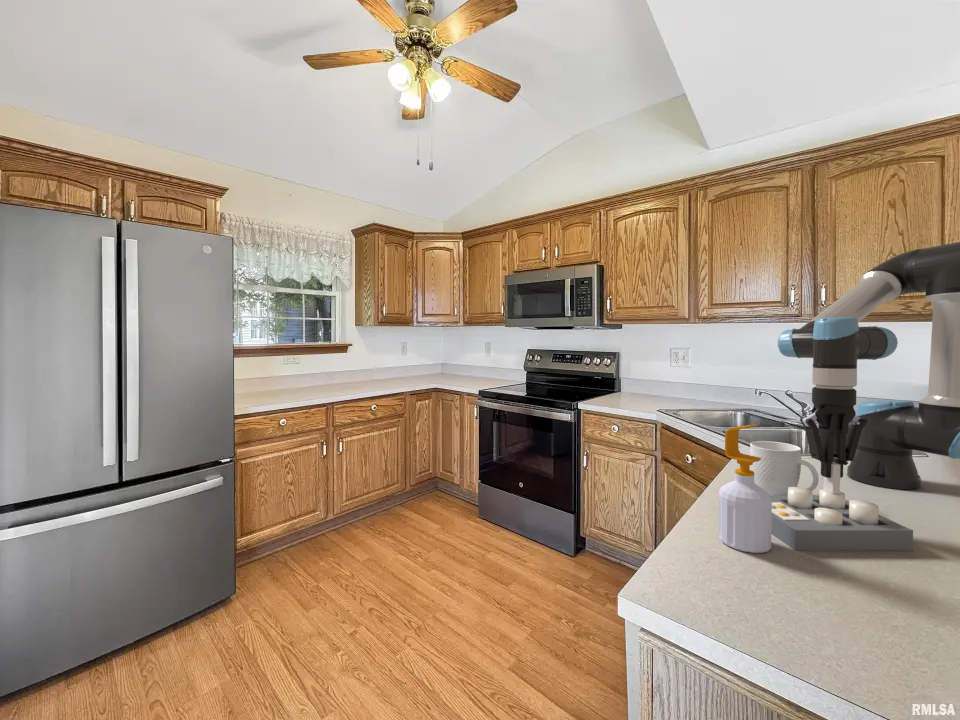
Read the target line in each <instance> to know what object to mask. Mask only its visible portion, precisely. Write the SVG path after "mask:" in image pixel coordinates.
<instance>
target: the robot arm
mask: <svg viewBox="0 0 960 720" xmlns="http://www.w3.org/2000/svg"><path fill="white" fill-rule="evenodd" d="M916 293H925V295H924V296H925V299H926V300H927V301H930V303H932V305H933V306H932V320H931V323H932V324H931V338H930V356H929V357H930V358H929V372H928V386H927V387H928V389H927V396H926V397H923V398H922V399H920V400H919V401H918V407H917V406H916V405H915V403H914V401H912V400H901V399H899V400H898V399H897V400H896V399H895V400H891V399H890V400H889V399H888V400H887V399H885V400H866V401H862V402H859V403H857V390H856V389H855V388H854V387H857V385H858V360H861V361H862V360H872V361H875V360H879V359H885V358H887V357H889V356H891V355H892V354H893V353H894V352H895V351H896V349H897V347H898V342H899V341H898V338H897V336H896V334H895V333H894V332H893V331H892V330H891V329H889V328H886V327H881V326H877V325H874V326H872V325H871V326H860V325H859V322H861V321H862V320H864V319H865V318H866V317H868V316H869V315H870V314H871V313H872V312H874V311H875V310H876V309H877V308H878V307H880V306H881V305H882V304H883V303H888V302H891V301H893V300H895V299H897V298H898V297H900V296H904V295H908V294H916ZM777 348H778V350H779V352H780V354H781V355H783V356H784V357H787V358H797V359H813V360H812V361H813V363H812V381H811V382H812V384H813V385H814V386H813V387H812V389H811V402H812V405H813V407H812V409H811V412H810V413H811V414H808V415H807V416H805V417H804V416H801V417H800V418H799V421H800V423H801V424H802V426H803V427H804V431H805V435H806V439H807V443H808V449H809V452H810V456H811V458H812V459H814V460H817V461H819V462H820V475H821V477H823V478H822V479H823V481H822V482H823V487H822V489H824V490H826V491H828V492H830V493H833V494H840V492H841V479H842V478H843V476H844V466H847V465H848V464H849V465H848V466H847V469H846V472H847V473H846V475H847V477H849V478H850V479H852V480H854V481H856V482H860V483H863V484H867V485H870V486H871V485H872V486H875V487H882V488H888V489H897V490H916V489H920V488H921V487H922V478H921V475H919V472H918V469H917V466H916V463H915V461H914V458H913V451H916V452H921V453H926V454H933V455H938V456H942V457H950V458H951V459H959V460H960V241H958V242H953V243H952V242H951V243H947V244H941V245H937V246H929V247H923V248H917V249H911V250H909V251H906V252H902V253H900V254H897V255H894V256H892V257H891V258H888V259H887V260H885V261H882V262H881V263H879V264H877V265H876V266H873V267H872V268H871V269H870V270H869V271H867V272H866V273H864V274H863V275H862V276H860V278H859V280H858V281H857V284H855V286H854V287H853V288H851V289H850V290H848V291H847V292H846V293H845V294H843V295H842V296H840V297H839V298H838V299H837V300H835V301H834V302H833V303H832V304H830V305H829V306H828V307H825V309H824V310H823V311H821V312H820V313H819V314H817V315H816V316H815V317H814V318H812V319H811V320H809V321H808V322H807V323H805V324H804V325H803V326H802V327H800V328H791V329H785V330H783V331H782V332H781V333H780V334H779V336H778V338H777ZM854 406H856V410H855V407H854ZM849 462H850V463H849Z"/></svg>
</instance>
